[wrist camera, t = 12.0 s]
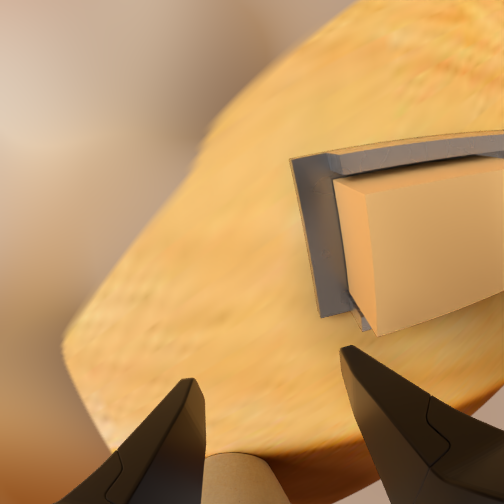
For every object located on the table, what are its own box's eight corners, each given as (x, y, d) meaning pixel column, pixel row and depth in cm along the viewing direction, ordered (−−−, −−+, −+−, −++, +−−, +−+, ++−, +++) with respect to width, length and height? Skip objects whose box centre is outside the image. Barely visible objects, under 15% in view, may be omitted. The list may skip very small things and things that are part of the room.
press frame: (552, 128, 16) (608, 137, 9) (553, 234, 19) (602, 259, 13) (288, 158, 17) (314, 168, 11) (317, 310, 21) (344, 380, 14)
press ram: (481, 155, 16) (532, 164, 11) (483, 252, 18) (527, 279, 14) (332, 179, 17) (364, 194, 12) (349, 292, 19) (377, 337, 14)
